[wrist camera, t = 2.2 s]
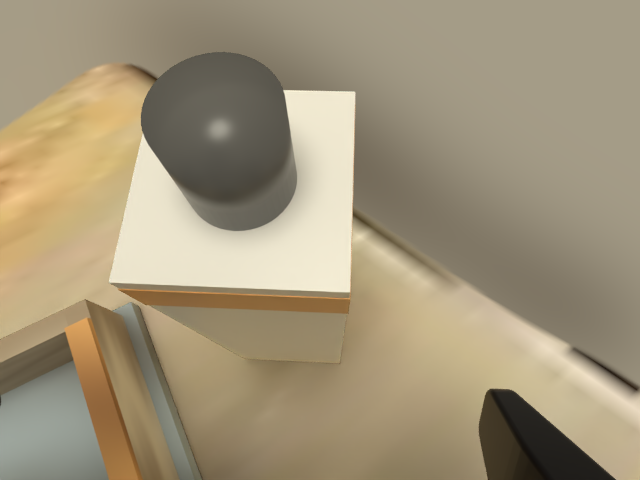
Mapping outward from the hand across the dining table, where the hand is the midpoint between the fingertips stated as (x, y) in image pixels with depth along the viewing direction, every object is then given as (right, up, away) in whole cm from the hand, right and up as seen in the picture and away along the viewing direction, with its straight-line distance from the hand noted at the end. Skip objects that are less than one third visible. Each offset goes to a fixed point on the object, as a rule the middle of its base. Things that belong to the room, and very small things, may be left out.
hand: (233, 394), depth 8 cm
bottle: (0, 0, +11) cm, 11 cm away
